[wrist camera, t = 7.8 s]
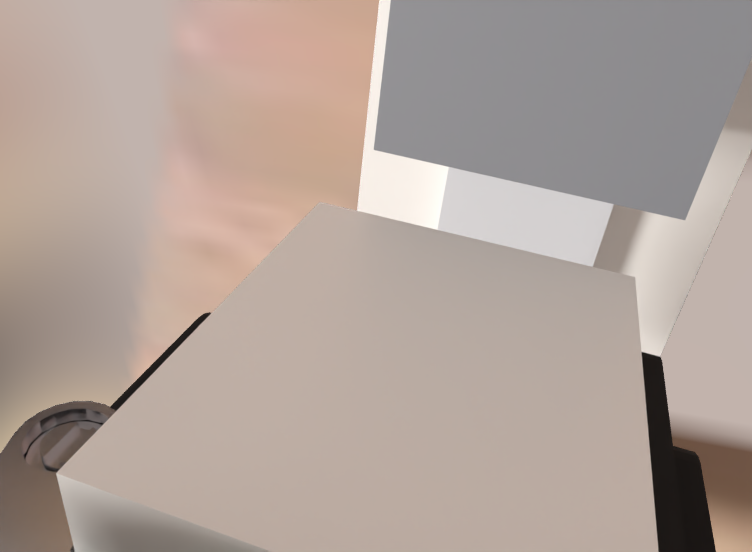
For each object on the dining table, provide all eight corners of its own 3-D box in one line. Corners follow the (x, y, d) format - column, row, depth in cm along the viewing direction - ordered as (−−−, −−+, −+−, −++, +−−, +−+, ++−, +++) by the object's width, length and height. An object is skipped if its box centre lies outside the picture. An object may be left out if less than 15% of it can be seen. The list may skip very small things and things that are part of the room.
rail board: (593, 476, 22) (585, 691, 16) (349, 397, 24) (257, 561, 18) (863, -155, 12) (1102, -230, 6) (420, -198, 14) (275, -287, 8)
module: (549, 499, 12) (504, 993, 6) (304, 421, 13) (88, 794, 7) (635, 276, 9) (681, 799, 4) (319, 202, 10) (-1, 531, 5)
